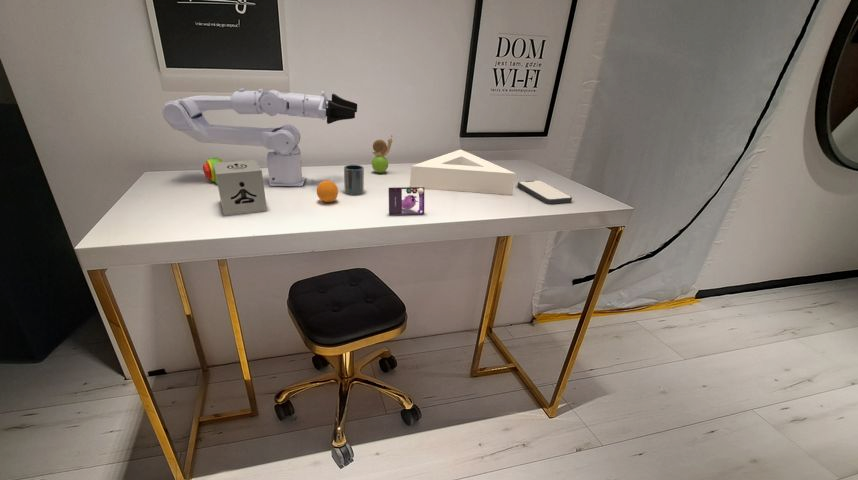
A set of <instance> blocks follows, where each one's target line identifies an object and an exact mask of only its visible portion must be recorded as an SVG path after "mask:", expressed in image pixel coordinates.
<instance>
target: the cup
mask: <svg viewBox="0 0 858 480" xmlns="http://www.w3.org/2000/svg"><path fill="white" fill-rule="evenodd" d="M343 173H344V174H343V181H344V193H345V194H346V195H349V196H360V195H363V194H364V190H365V189H364V185H365V181H364V180H365V179H364V178H365V174H364V173H365V167H364V166H362V165H359V164H348V165H345V166H344V167H343Z"/></svg>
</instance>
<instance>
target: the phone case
mask: <svg viewBox="0 0 858 480" xmlns="http://www.w3.org/2000/svg"><path fill="white" fill-rule="evenodd" d="M516 186H517V187H518V188H519V189H521V190H522V191H524V192H526V193H528V194H529V195H531V196H532V197H534V198H535V199H538V200H540V201H541V202H543V203H544V204H546V205H547V204H548V205H556V204H566V203H571V202H572V200H573V197H572V196H571V195H569V194H567V193H565V192H563V191H561V190H559V189H557V188H555V187H554V186H552V185H550V184H548V183H547V182H544V181H543V180H538V179H537V180H525V181H518V182H517V185H516Z"/></svg>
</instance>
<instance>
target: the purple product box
mask: <svg viewBox="0 0 858 480" xmlns="http://www.w3.org/2000/svg"><path fill="white" fill-rule="evenodd" d="M403 190H405V192H406V194H408V195H405V196H404V198H403ZM411 193H412V194H411ZM417 193H418V200H419V201H418V200H417V199H416V198H417V196H416V195H415V194H417ZM416 203H418V209H417V212H403V209H404V210H410V209H413V208H414V207H415V206H416ZM421 211H422V212H421ZM415 215H416V216H419V215H423V216H424V215H425V188H424V187H410V186H407V187H406V186H405V187H404V186H402V187H400V186H399V187H395V186H394V187H388V216H415Z"/></svg>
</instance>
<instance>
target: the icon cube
mask: <svg viewBox="0 0 858 480" xmlns="http://www.w3.org/2000/svg"><path fill="white" fill-rule="evenodd" d="M213 164H214V169H215V174H216V179H217V184H218V185H217V184H216V185H217V190H218V194H219V200H220V204H221V208H222V213H223V216H224V217H226V216H235V215H242V214H251V213H259V212H261V213H262V212H267V211H268V206H267V199H266V191H265V184H264V177H263V170H262V168H261V167H260V165H259V163H258V162H257V160H256V159H250V160H249V159H248V160H236V161H233V160H232V161H222V162H218V163H213Z"/></svg>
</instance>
